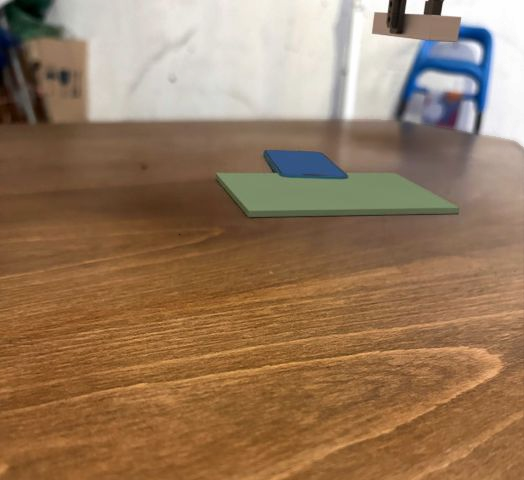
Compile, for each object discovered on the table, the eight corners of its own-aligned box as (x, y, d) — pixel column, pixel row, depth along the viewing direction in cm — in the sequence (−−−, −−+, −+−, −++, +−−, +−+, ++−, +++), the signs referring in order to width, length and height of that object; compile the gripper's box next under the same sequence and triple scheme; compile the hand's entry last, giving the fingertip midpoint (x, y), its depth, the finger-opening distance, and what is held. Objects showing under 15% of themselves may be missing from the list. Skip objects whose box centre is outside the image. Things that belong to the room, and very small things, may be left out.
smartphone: (321, 151, 82) (350, 176, 69) (320, 159, 83) (349, 186, 69) (262, 149, 81) (280, 174, 68) (261, 157, 82) (279, 184, 68)
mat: (394, 178, 73) (394, 172, 73) (458, 213, 61) (459, 207, 61) (215, 178, 68) (215, 172, 68) (248, 217, 56) (248, 210, 56)
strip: (371, 33, 86) (374, 12, 85) (396, 35, 87) (399, 13, 86) (428, 40, 72) (432, 14, 71) (457, 42, 73) (461, 16, 72)
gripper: (390, -158, 67) (368, 33, 74) (514, -141, 70) (480, 39, 78) (362, -144, 73) (344, 30, 81) (477, -130, 76) (449, 36, 84)
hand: (411, 34), depth 79 cm, fingers closed on strip, 3 cm apart
